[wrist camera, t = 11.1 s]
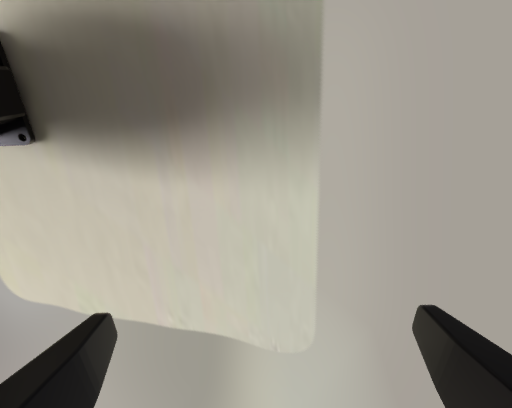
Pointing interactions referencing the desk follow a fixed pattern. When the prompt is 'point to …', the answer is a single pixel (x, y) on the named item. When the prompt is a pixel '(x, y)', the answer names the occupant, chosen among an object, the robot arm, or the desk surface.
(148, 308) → the desk surface
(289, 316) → the desk surface
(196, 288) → the desk surface
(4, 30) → the desk surface
